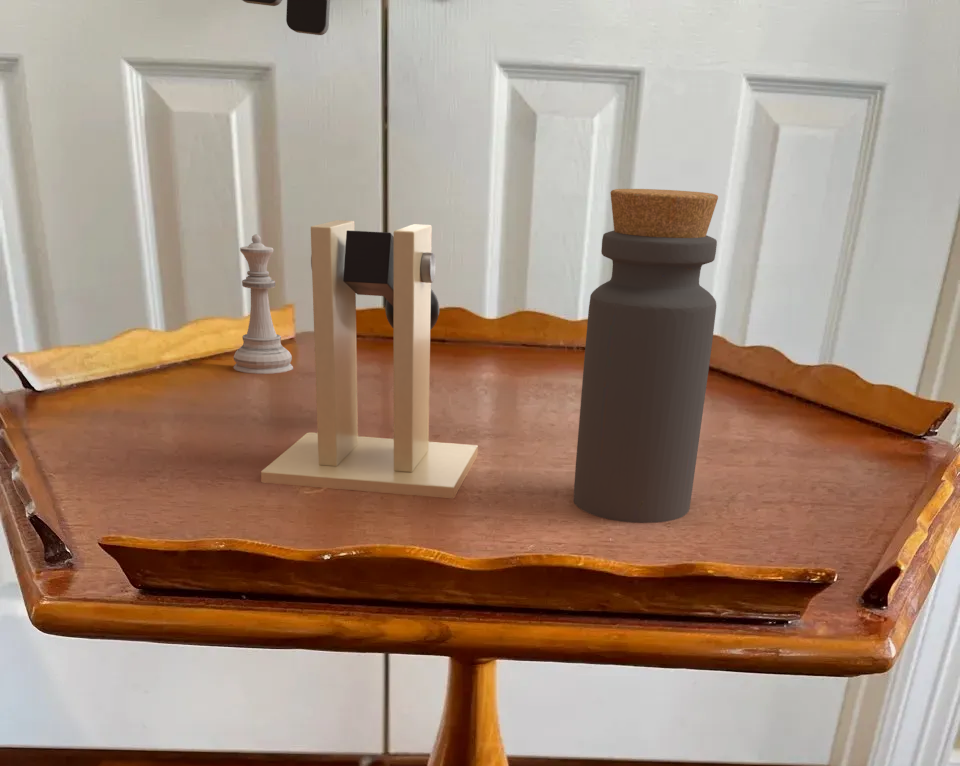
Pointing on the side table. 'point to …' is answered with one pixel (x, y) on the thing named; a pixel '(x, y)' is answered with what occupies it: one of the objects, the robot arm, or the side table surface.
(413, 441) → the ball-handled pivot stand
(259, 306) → the chess piece
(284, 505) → the side table surface
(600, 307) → the bottle
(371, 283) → the lever
